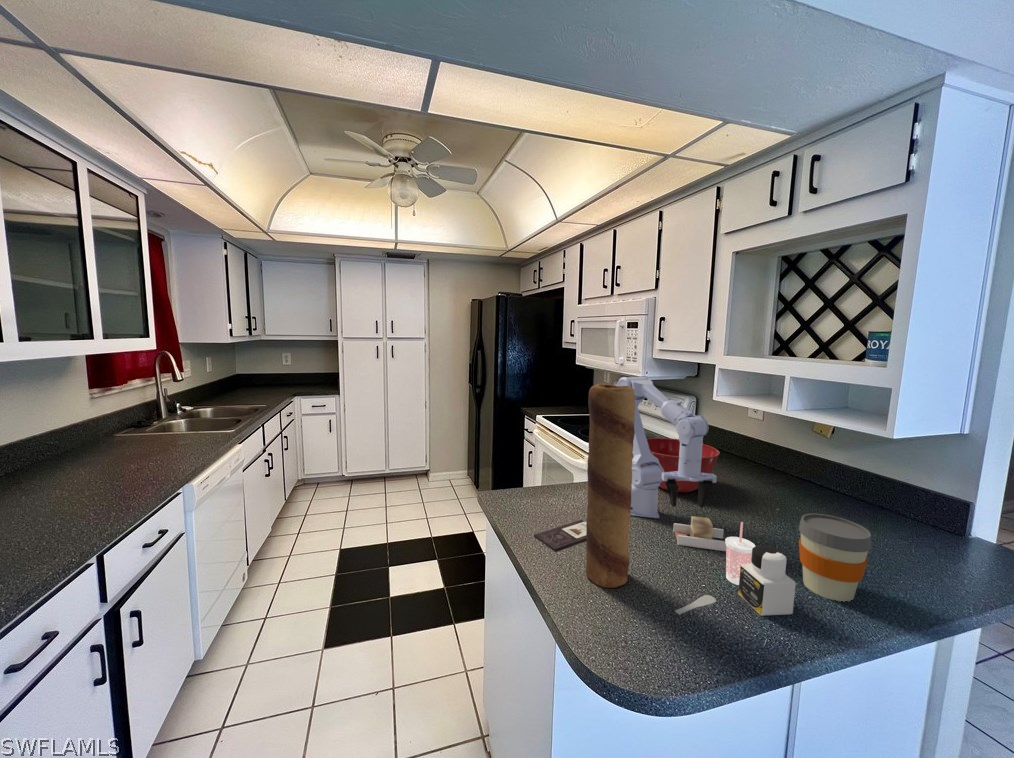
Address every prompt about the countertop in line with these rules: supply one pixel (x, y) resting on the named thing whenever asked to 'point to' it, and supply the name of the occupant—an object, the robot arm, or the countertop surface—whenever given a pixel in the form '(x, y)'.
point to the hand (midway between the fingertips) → (686, 505)
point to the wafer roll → (609, 483)
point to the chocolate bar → (564, 535)
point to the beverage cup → (737, 555)
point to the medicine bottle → (767, 582)
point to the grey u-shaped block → (685, 540)
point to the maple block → (701, 527)
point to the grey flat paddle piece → (697, 604)
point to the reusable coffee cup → (833, 555)
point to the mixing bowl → (669, 460)
